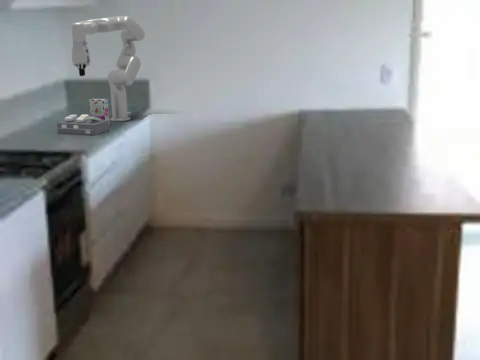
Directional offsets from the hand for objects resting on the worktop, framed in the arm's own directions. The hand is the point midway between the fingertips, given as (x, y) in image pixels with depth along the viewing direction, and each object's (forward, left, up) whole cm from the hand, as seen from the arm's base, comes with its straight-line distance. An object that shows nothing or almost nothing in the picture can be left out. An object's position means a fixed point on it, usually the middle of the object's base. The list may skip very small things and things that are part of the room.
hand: (82, 75), depth 413 cm
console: (+12, +6, -31) cm, 34 cm away
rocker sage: (+12, +14, -23) cm, 30 cm away
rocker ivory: (+12, +6, -23) cm, 27 cm away
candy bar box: (-7, +5, -31) cm, 32 cm away
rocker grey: (+12, -2, -23) cm, 26 cm away
